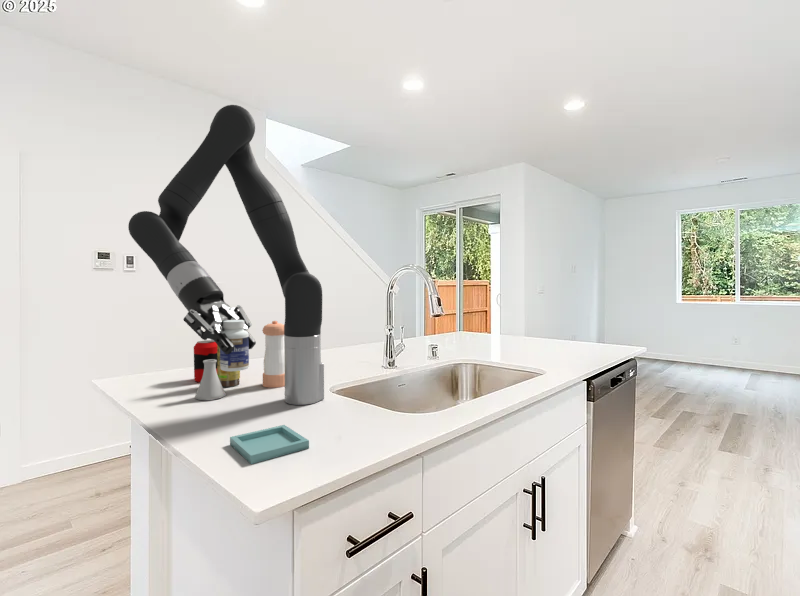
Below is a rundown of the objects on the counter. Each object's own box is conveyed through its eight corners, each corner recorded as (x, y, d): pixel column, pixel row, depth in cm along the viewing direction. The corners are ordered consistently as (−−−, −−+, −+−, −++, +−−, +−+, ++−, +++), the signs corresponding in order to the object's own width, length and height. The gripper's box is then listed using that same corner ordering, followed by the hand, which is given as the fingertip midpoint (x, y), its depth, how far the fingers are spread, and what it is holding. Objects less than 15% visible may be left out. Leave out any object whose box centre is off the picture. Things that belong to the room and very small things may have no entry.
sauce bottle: (214, 384, 128) (213, 318, 127) (235, 381, 132) (234, 317, 131) (222, 389, 123) (221, 319, 122) (243, 385, 127) (242, 318, 126)
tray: (284, 431, 89) (284, 424, 89) (309, 448, 81) (308, 440, 81) (230, 444, 83) (230, 437, 82) (251, 464, 74) (250, 455, 74)
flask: (231, 395, 117) (230, 359, 116) (209, 402, 110) (208, 364, 110) (211, 392, 120) (211, 356, 119) (189, 399, 113) (188, 361, 113)
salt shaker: (284, 387, 125) (283, 322, 124) (259, 387, 125) (258, 322, 124) (290, 381, 132) (290, 319, 131) (267, 381, 132) (266, 319, 131)
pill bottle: (231, 373, 83) (230, 322, 82) (214, 369, 86) (213, 321, 85) (254, 368, 87) (254, 320, 87) (238, 365, 90) (237, 318, 89)
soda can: (204, 383, 129) (203, 344, 129) (189, 380, 133) (188, 342, 132) (226, 378, 136) (225, 341, 135) (210, 375, 139) (210, 339, 139)
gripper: (174, 275, 81) (225, 341, 78) (230, 275, 95) (276, 331, 91) (155, 302, 84) (203, 368, 80) (212, 298, 97) (256, 355, 93)
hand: (241, 348), depth 85 cm, fingers closed on pill bottle, 5 cm apart
